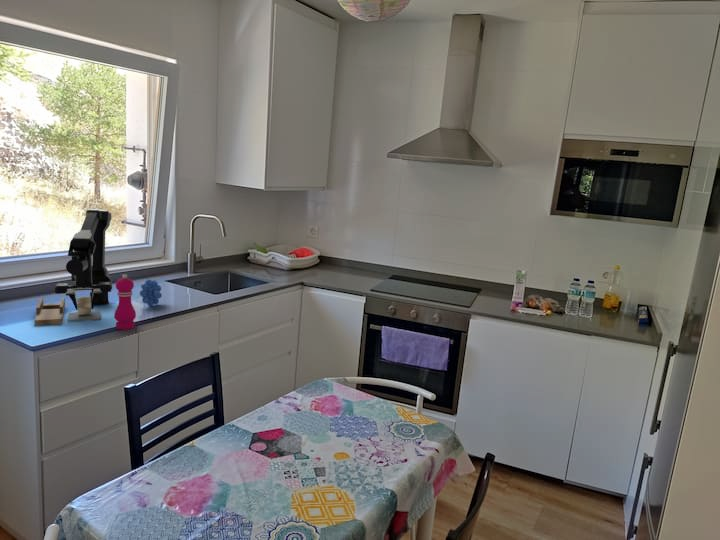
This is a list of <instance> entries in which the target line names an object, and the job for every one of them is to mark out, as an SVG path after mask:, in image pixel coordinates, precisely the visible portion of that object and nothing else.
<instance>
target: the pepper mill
mask: <svg viewBox="0 0 720 540" xmlns="http://www.w3.org/2000/svg"><path fill="white" fill-rule="evenodd" d="M134 284H135V283H134V281H133V280H132V279H131V278H128V275H127V274H126V273H124V274H122V275H121V278H119V279H118V280H117V281H116V283H115V288H116V290H117V296H118V304H117V307H116V308H115V309H116V310H115V311H114V317H113V318H114V319H115V321H117V322H115V328H116V329H118V330H131V329H134V328H135V326H136V325H135V324H136V323H135V321H134V320H135V319H136V317H137V314H136V309H135V308H134V306H133V303H132V296H133V289H134V287H135V285H134Z"/></svg>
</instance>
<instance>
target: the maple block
mask: <svg viewBox="0 0 720 540" xmlns="http://www.w3.org/2000/svg"><path fill="white" fill-rule="evenodd" d="M76 300H77V308H78V310H77V312H78V315H83V314H91V312H92V309H91V296H90V295H89V296H88V295H87V296H77V298H76Z"/></svg>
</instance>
